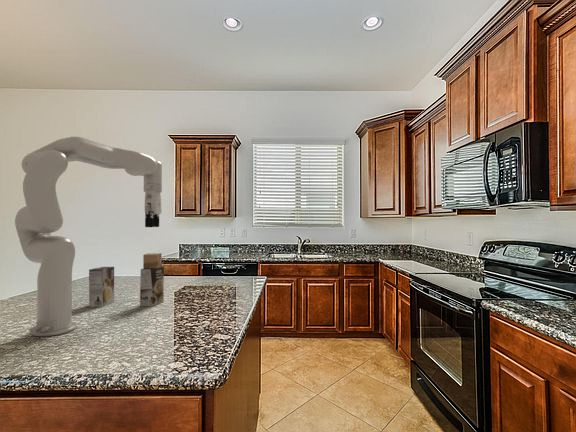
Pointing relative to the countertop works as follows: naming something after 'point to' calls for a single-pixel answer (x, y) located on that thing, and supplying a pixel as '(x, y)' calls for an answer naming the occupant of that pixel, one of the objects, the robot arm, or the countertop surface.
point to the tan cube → (152, 260)
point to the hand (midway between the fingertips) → (152, 227)
